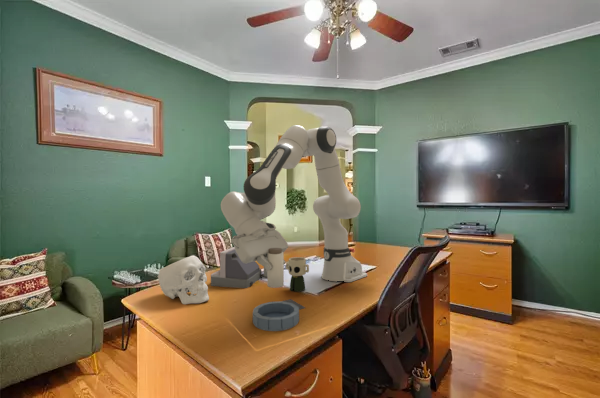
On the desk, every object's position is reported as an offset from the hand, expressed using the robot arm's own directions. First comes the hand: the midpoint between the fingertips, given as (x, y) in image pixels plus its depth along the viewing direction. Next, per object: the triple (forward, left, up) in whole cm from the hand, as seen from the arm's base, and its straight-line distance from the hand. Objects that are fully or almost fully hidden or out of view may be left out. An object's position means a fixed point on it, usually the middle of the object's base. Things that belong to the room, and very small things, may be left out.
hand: (277, 266), depth 87 cm
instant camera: (-5, -49, -17) cm, 52 cm away
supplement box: (-23, -48, -17) cm, 55 cm away
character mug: (-21, -22, -17) cm, 35 cm away
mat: (-8, -9, -17) cm, 21 cm away
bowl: (0, -1, -17) cm, 17 cm away
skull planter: (+20, -38, -17) cm, 46 cm away
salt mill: (0, -1, -6) cm, 6 cm away
